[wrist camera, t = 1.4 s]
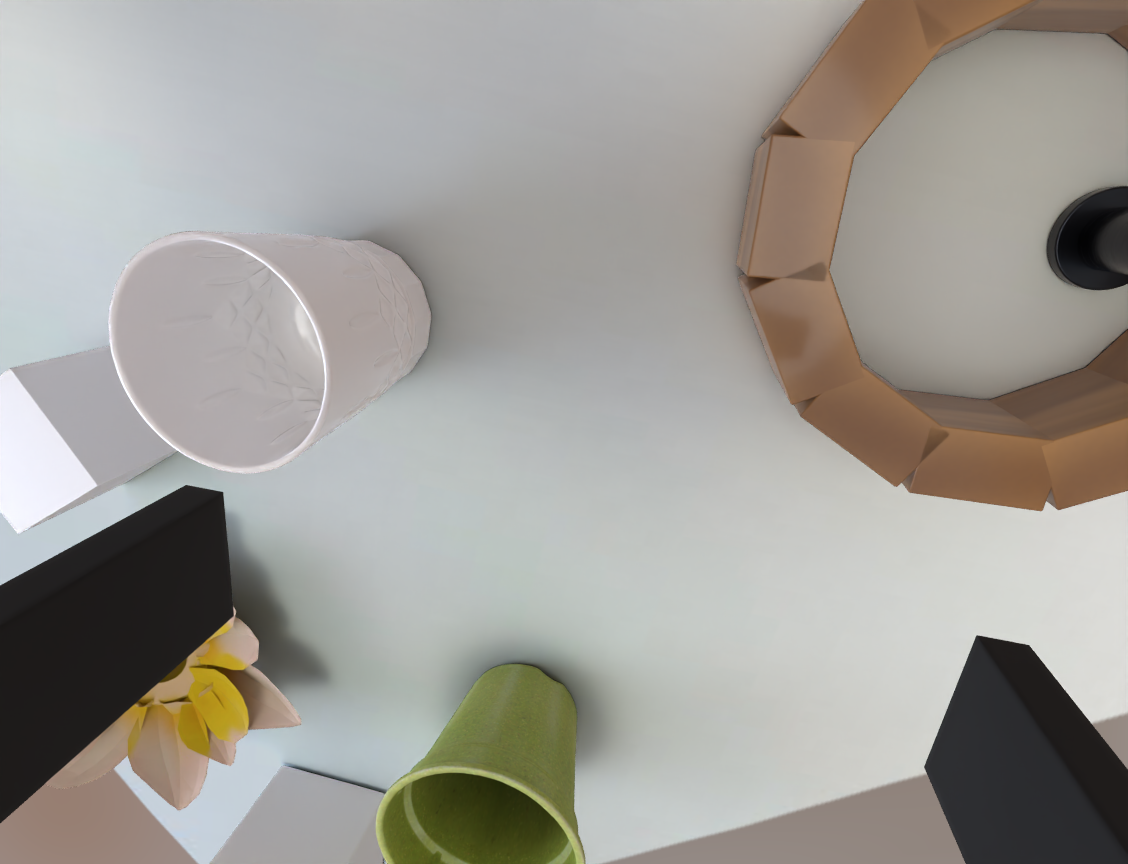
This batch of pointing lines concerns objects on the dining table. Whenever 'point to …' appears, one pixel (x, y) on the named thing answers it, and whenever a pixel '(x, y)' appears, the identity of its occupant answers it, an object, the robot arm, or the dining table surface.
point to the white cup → (261, 340)
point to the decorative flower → (188, 720)
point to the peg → (1092, 241)
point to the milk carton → (306, 823)
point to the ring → (815, 315)
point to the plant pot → (492, 780)
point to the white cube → (68, 436)
